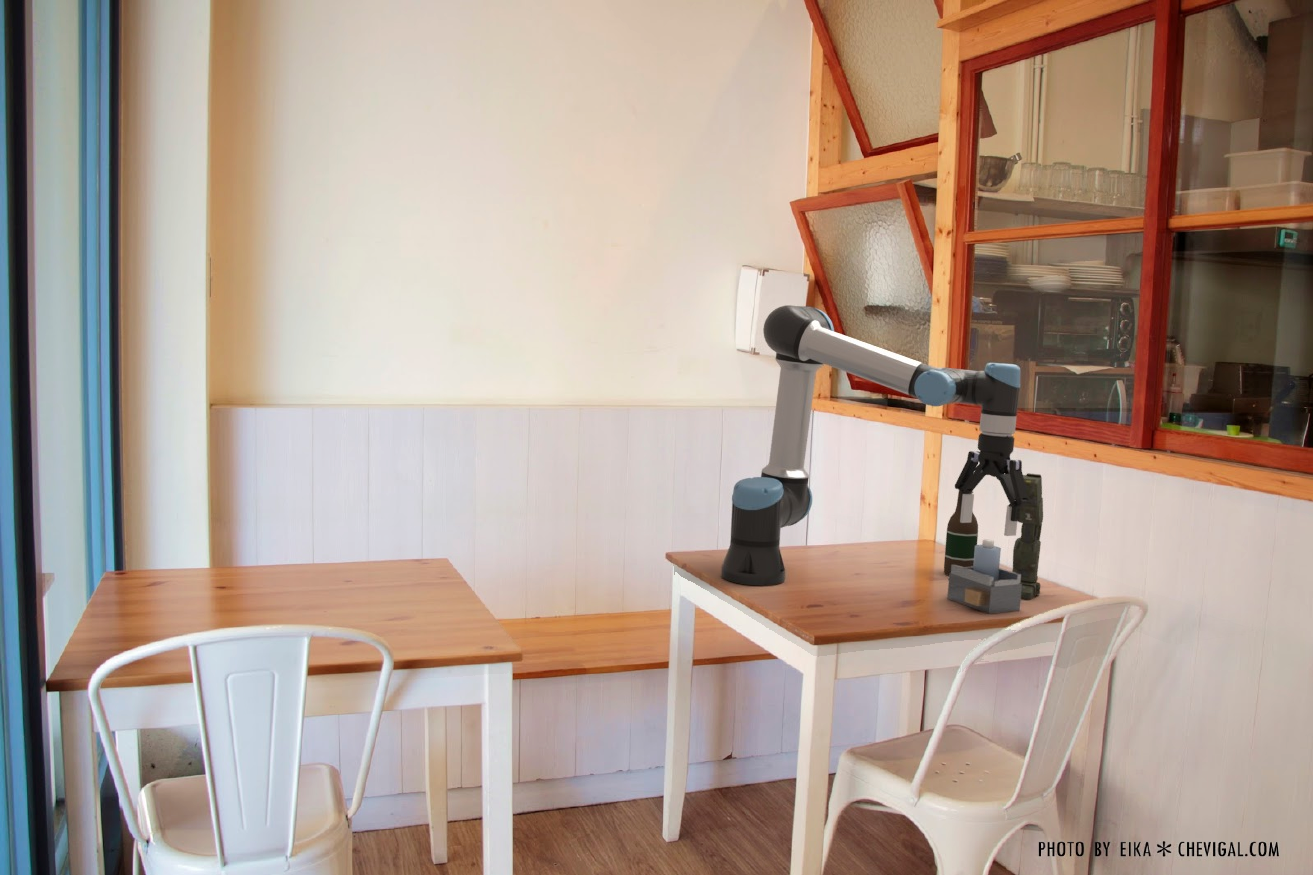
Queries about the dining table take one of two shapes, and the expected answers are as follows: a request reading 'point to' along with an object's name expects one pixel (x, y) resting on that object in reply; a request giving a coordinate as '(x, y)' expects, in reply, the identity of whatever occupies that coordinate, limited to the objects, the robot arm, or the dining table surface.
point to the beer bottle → (960, 540)
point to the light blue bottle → (987, 559)
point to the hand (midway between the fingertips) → (987, 528)
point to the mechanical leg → (1029, 538)
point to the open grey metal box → (985, 589)
